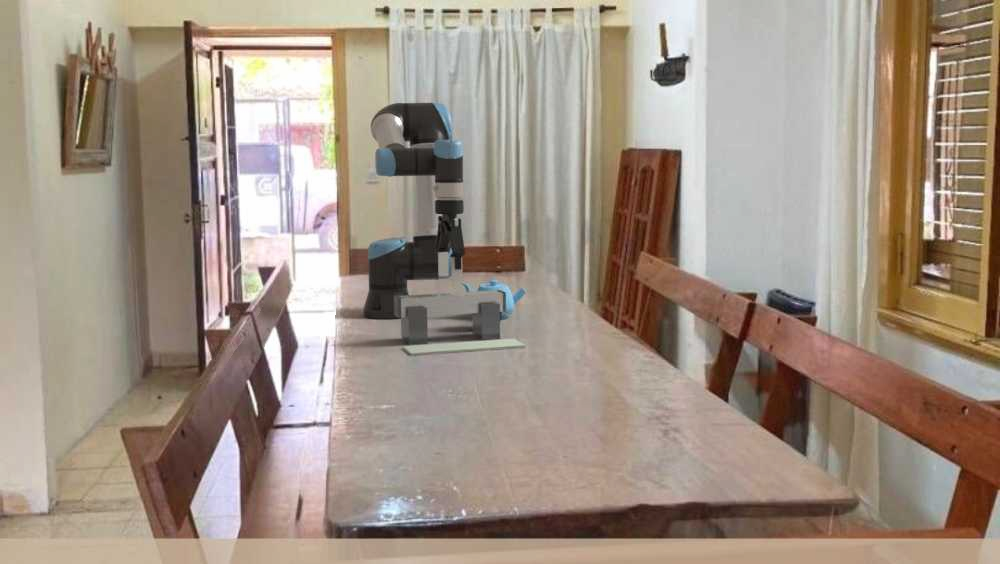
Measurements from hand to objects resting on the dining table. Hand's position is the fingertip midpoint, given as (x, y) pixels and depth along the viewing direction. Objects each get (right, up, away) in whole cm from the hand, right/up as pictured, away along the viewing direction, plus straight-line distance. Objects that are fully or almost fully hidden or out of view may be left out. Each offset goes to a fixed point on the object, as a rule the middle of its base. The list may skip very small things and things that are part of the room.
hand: (450, 279), depth 267 cm
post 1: (-10, -17, -1) cm, 19 cm away
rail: (0, -9, +2) cm, 9 cm away
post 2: (+9, -16, +6) cm, 19 cm away
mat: (+4, -18, -10) cm, 21 cm away
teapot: (+11, -12, +34) cm, 38 cm away
